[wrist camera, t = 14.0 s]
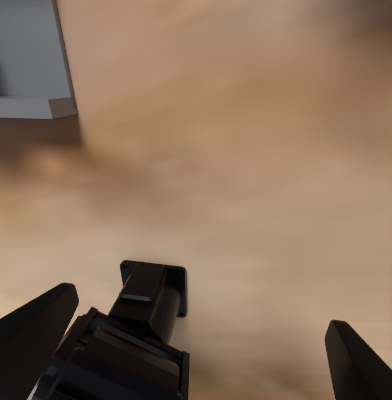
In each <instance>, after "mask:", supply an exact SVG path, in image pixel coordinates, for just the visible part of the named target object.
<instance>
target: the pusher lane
mask: <svg viewBox="0 0 392 400" xmlns="http://www.w3.org/2000/svg"><path fill="white" fill-rule="evenodd" d="M74 114H78V113H77V108H76V103H75V98H74V93H73V88H72V83H71V77H70V72H69V67H68V62H67V57H66V52H65V47H64V42H63V36H62V31H61V26H60V21H59V16H58V11H57V6H56V1H55V0H0V117H3V118H34V119H55V118H60V117H65V116H70V115H74Z"/></svg>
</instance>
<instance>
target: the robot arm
mask: <svg viewBox="0 0 392 400" xmlns="http://www.w3.org/2000/svg"><path fill="white" fill-rule="evenodd" d="M125 265H126V266H125ZM120 270H121V276H122V282H123V288H122V290H121V292H120V293H119V296H118V298H117V300H116V301H115V303H114V305H113V307H112V308H111V310H110V312H109V314H108V315H105V314H103V313H101V312H99V311H98V309H96V308H94V307H91V309H90V310H89V311H88V313H87V314H83V316H78V317H77V319H76V320H75V321H74V323H73V324H72V326H71V327H70V329H69V330H68V332H67V333H66V334H65V331H66V329H67V327H68V325H69V323H70V321H71V319H72V317H73V315H74V313H75V311H76V308H77V306H78V303H79V298H78V295H77V291H76V288H75V285H74V284H71V283H61V284H59V285H58V286H56V287H54V288H52V289H51V290H49V291H47V292H45V293H44V294H42V295H40V296H39V297H37V298H35V299H33V300H32V301H30V302H28V303H27V304H25V305H23V306H21V307H20V308H18V309H16V310H14V311H13V312H11V313H9V314H8V315H6V316H4V317H2V318H1V319H0V400H27V398H28V397H29V395H30V393H31V392H32V390H33V388H34V386H35V385H36V383H37V382H38V383H37V389H36V391H35V393H34V395H33V397H32V400H188V387H189V356H190V354H189V353H187V352H185V351H183V352H182V351H180V350H178V349H176V348H174V347H171V346H169V342H170V338H171V335H172V331H173V327H174V324H175V320H176V317H180V318H184V317H185V316H186V313H187V295H186V270H185V268H183V267H179V266H171V265H162V264H154V263H145V262H137V261H128V260H124V261H122V263H121V264H120ZM180 272H182V273H180ZM64 334H65V335H64ZM63 336H64V337H63ZM325 346H326V351H327V357H328V362H329V368H330V373H331V379H332V384H333V390H334V395H335V399H336V400H392V370H391V369H390V367H389V366H388V365H387V364H386V363H385V362H384V361H383V360H382V359H381V358H380V357H379V356H378V355H377V354H376V353H375V352H374V351H373V349H372V348H371V347H370V346H369V345H368V344H367V343H366V342H365V341H364V340H363V339H362V338H361V337H360V336H359V335H358V334H357V333H356V331H355V330H354V329H353V328H352V327H351V326H350V325H349V324H348V323H347V322H345V321H340V320H331V321H330V324H329V327H328V329H327V332H326V335H325ZM39 378H40V379H39ZM38 380H39V381H38Z"/></svg>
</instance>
